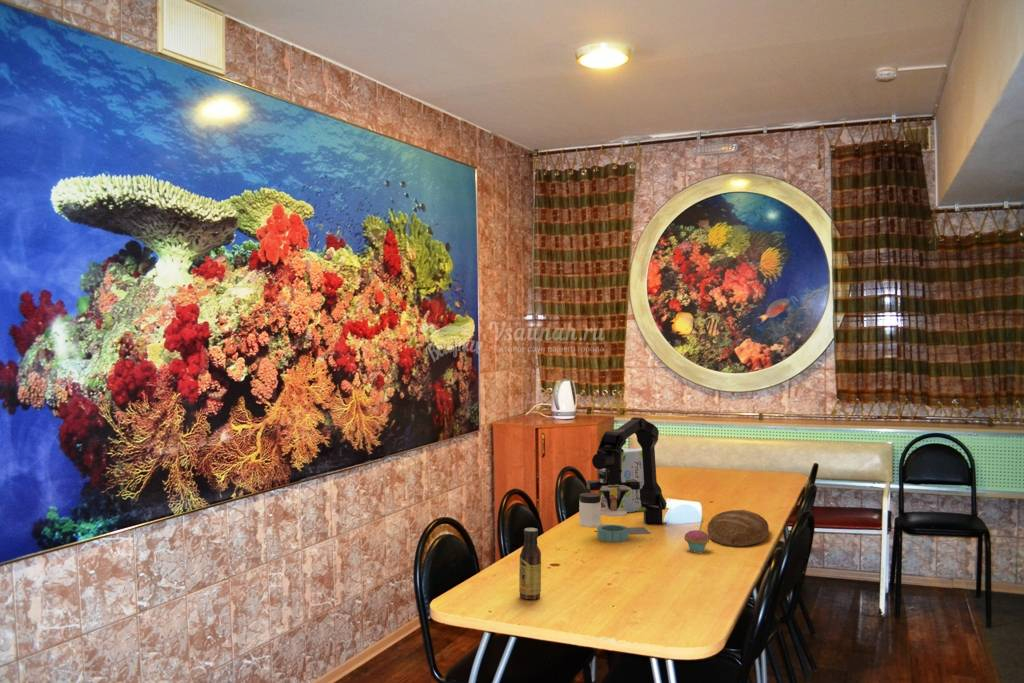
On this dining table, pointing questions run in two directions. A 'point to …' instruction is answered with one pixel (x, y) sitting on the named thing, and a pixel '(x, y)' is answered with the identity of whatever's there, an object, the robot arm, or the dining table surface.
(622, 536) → the bowl
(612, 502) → the lid
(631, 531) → the mat
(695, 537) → the cupcake
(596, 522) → the jar
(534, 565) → the sauce bottle
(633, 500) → the snack box
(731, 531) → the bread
